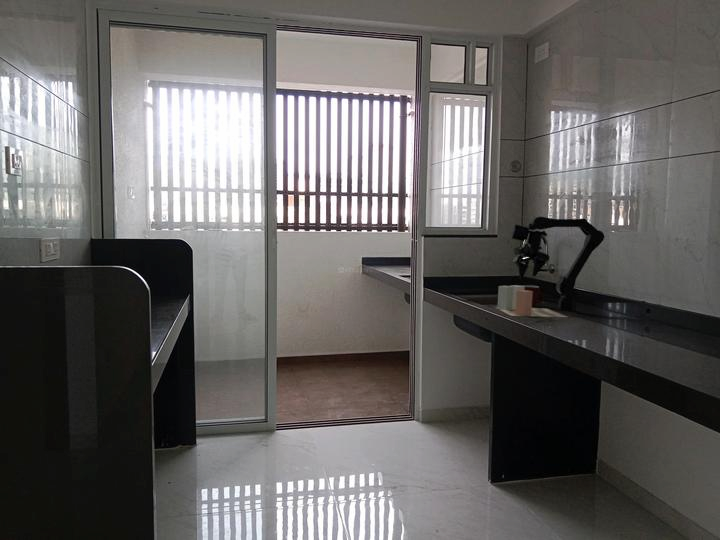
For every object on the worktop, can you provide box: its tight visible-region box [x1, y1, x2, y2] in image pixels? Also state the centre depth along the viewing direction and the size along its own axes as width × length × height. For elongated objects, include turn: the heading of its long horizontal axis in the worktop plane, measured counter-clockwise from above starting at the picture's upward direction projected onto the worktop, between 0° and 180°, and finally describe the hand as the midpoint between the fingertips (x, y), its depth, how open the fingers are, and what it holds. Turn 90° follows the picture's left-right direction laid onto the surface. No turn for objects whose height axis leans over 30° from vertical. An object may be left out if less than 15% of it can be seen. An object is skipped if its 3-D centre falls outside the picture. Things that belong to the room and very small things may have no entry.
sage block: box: [496, 285, 514, 310], centre depth 247 cm, size 4×4×10 cm
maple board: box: [494, 306, 568, 318], centre depth 242 cm, size 24×23×1 cm
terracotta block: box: [515, 290, 533, 317], centre depth 232 cm, size 4×4×10 cm
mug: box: [522, 284, 545, 307], centre depth 261 cm, size 10×8×10 cm
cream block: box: [510, 284, 525, 309], centre depth 250 cm, size 4×4×10 cm
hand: (527, 277), depth 248 cm, fingers open, 9 cm apart
